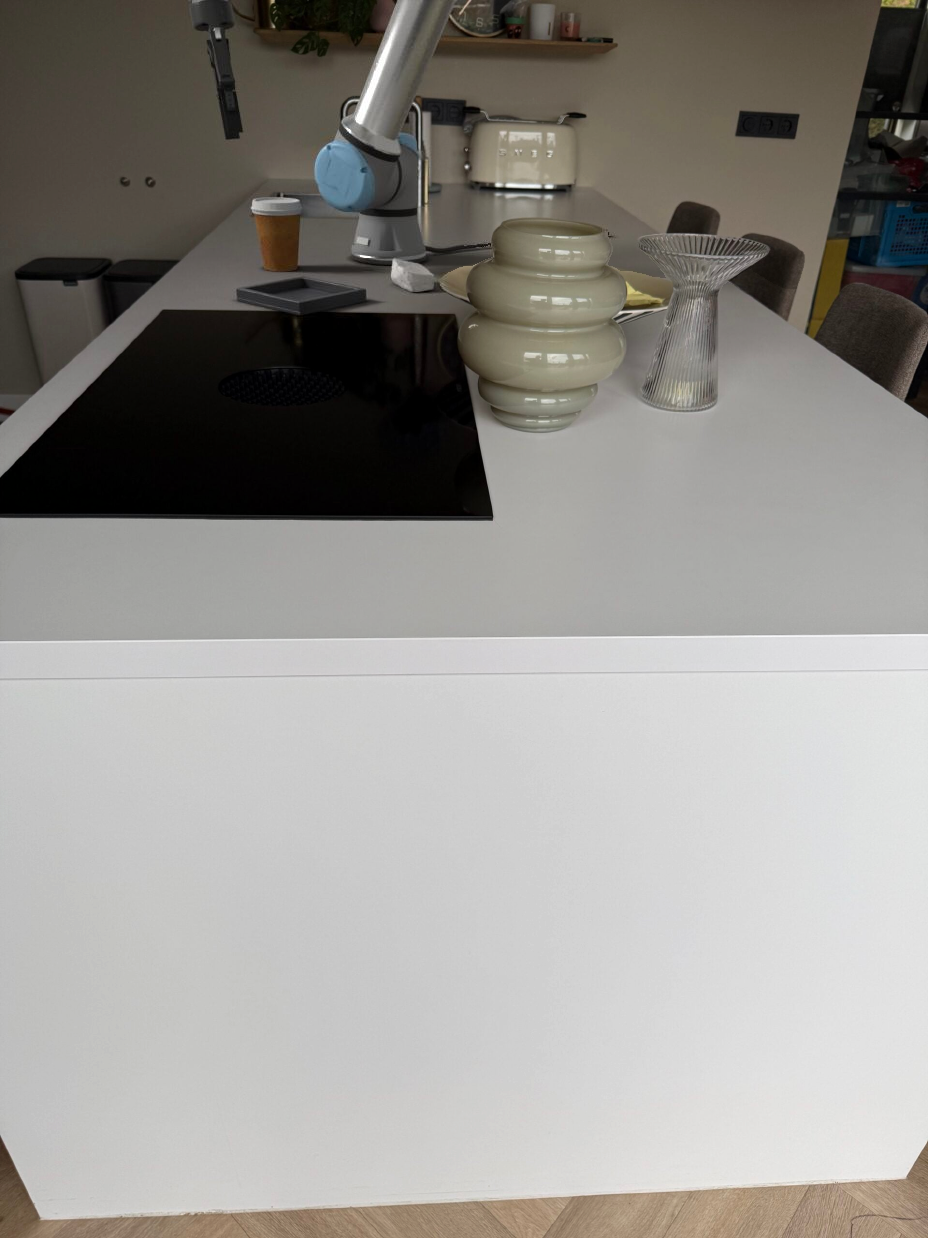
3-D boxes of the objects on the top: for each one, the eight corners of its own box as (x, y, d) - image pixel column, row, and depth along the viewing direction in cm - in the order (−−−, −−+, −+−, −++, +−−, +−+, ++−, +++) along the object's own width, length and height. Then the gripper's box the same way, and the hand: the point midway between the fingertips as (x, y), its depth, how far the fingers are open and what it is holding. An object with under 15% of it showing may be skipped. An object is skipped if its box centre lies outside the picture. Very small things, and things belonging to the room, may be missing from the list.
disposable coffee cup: (245, 269, 173) (239, 200, 167) (273, 262, 181) (268, 195, 175) (289, 274, 170) (284, 204, 164) (315, 266, 178) (311, 199, 172)
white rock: (427, 311, 163) (439, 281, 159) (394, 302, 160) (405, 272, 157) (417, 282, 169) (428, 253, 166) (385, 273, 167) (395, 244, 163)
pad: (304, 287, 161) (303, 275, 160) (366, 301, 153) (366, 288, 152) (236, 300, 150) (235, 287, 149) (300, 315, 143) (299, 302, 142)
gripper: (188, 17, 173) (212, 142, 182) (187, -13, 151) (215, 131, 160) (228, 14, 175) (250, 139, 184) (233, -16, 153) (258, 127, 162)
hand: (234, 136), depth 172 cm, fingers open, 13 cm apart
